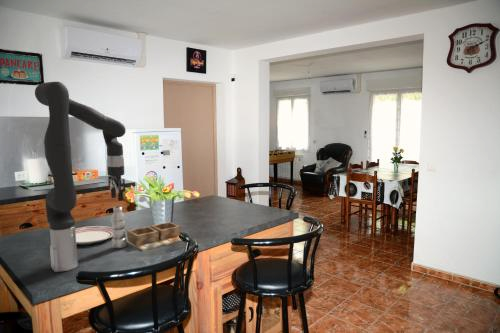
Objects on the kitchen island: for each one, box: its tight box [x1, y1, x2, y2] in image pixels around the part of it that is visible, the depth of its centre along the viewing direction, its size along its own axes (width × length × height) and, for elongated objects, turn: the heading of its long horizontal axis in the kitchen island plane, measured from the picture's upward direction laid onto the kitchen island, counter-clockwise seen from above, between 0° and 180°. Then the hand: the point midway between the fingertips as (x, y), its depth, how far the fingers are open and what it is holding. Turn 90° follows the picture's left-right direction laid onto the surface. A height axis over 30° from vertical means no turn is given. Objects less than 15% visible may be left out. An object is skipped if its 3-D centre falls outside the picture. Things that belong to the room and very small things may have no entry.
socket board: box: [126, 221, 183, 252], centre depth 180 cm, size 24×18×6 cm
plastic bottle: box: [110, 205, 128, 249], centre depth 170 cm, size 6×7×20 cm
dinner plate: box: [75, 225, 113, 245], centre depth 185 cm, size 27×27×3 cm
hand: (117, 199), depth 168 cm, fingers open, 8 cm apart
